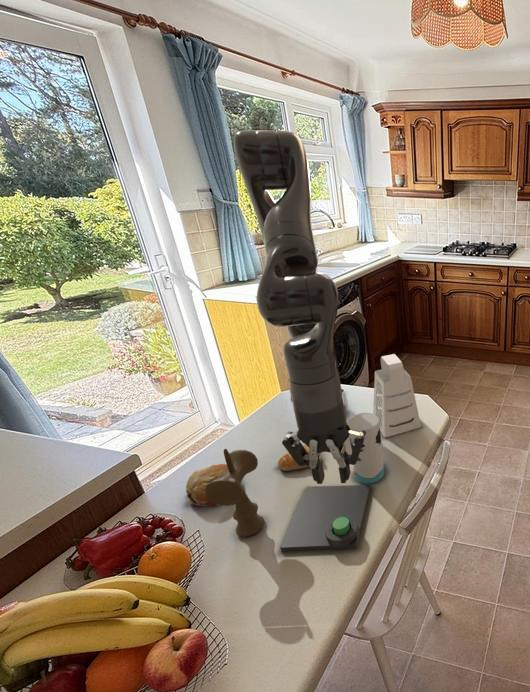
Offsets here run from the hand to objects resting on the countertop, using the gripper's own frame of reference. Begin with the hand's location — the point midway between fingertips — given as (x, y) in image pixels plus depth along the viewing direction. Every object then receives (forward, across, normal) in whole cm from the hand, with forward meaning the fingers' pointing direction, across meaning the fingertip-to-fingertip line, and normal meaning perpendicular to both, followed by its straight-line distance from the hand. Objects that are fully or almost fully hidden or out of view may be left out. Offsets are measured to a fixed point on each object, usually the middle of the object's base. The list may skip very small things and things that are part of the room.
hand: (332, 480), depth 73 cm
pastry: (+15, +15, -24) cm, 32 cm away
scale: (+15, +4, -6) cm, 17 cm away
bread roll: (+15, +31, -14) cm, 38 cm away
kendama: (+15, +19, -4) cm, 25 cm away
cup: (+15, -2, -18) cm, 24 cm away
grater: (+15, -6, -40) cm, 43 cm away
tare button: (+13, 0, 0) cm, 13 cm away
